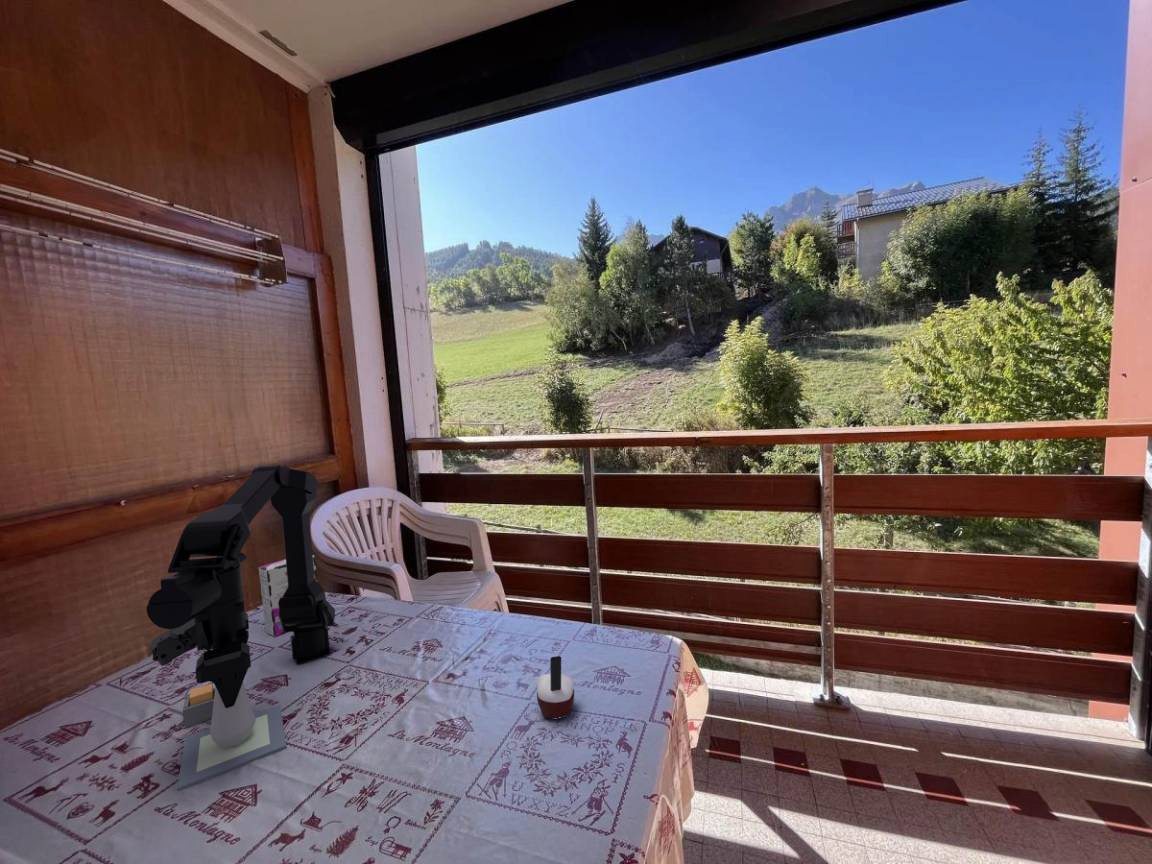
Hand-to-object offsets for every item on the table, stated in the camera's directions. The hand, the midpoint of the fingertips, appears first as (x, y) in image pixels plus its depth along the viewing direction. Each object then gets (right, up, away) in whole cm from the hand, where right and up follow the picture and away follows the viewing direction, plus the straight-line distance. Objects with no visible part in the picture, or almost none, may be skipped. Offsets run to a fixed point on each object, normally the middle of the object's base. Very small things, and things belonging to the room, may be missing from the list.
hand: (230, 695), depth 74 cm
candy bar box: (-15, -6, +42) cm, 45 cm away
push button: (-11, -6, +8) cm, 15 cm away
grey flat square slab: (0, -8, 0) cm, 8 cm away
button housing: (-10, -8, +8) cm, 16 cm away
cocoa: (+51, -6, +4) cm, 52 cm away
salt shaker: (0, -8, +1) cm, 8 cm away
